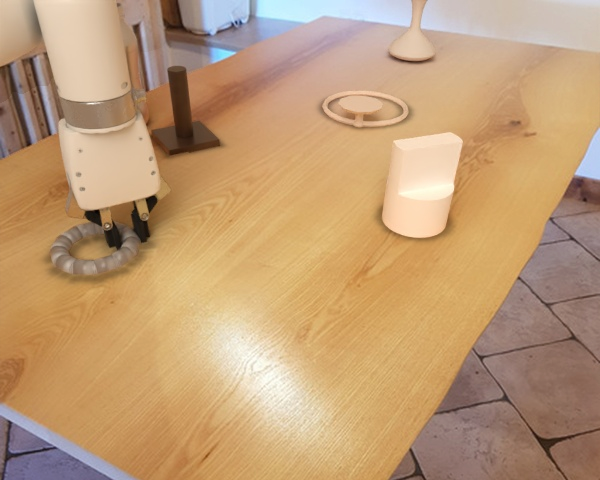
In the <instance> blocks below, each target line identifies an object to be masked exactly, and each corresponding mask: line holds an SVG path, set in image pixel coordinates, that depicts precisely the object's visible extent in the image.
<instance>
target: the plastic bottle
mask: <svg viewBox="0 0 600 480" xmlns="http://www.w3.org/2000/svg"><path fill="white" fill-rule="evenodd" d="M116 3H117V9H118V14H119V20H120V26H121V31H122V37H123V42H124V48H125V54H126V59H127V65H128V71H129V76H130V82H131V86H132V87H133V88H137V89H143V87H142V83H141V77H140V68H139V48H138V46H139V45H138V39H137V36H136V34H135V32H134V31H133V30H132V28H131V27H130V25H129V24H127V22H126V21H125V18H126V14H125V12H124V7H123V4H122V3H120V2H116ZM137 109H139V110H140V112H141V114H142V116H143V118H144V121H145V124H146V125H147V124H148V122H149V120H150V110H149V107H148V103H147V101H142V102H141V103H138V106H137Z"/></svg>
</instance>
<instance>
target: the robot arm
mask: <svg viewBox="0 0 600 480" xmlns="http://www.w3.org/2000/svg"><path fill="white" fill-rule="evenodd" d="M117 3H118V2H117V0H0V67H4V66H5V65H8V64H9V63H11V62H14V61H15V60H17V59H19V58H20V57H23V56H24V55H26V54H28V53H31V52H33V51H36V50H39V49H42V48H45V50H46V53H47V57H48V61H49V64H50V69H51V72H52V76H53V80H54V83H55V87H56V92H57V94H58V99H59V103H60V107H61V110H62V114H63V118H60V120H59V121H58V123H57V129H58V130H57V131H58V139H59V140H58V141H59V146H60V147H59V148H60V153H61V158H62V163H63V167H64V171H65V176H66V180H67V183H68V188H69V190H68V194H67V198H66V202H65V206H64V211H65V213H66V215H67V217H68V218H72V219H80V220H87V221H89V222H93V223H95V224H97V225H99V226H101V227H103V230H104V234H103V235H104V236H105V241H106V244H107V246H108V247H109V248H114V247H115V249H116V251H117V250H119V249H120V248H121V246H122V244H123V243H122V242H121V239H120V235H119V231H118V228H117V226H116V225H115V223H114V221H115V220H114V219H113V217H112V213H111V207H114V206H118V205H122V204H127V203H132V207H133V209H132V211H131V213H130V218H131V222H132V228H133V229H134V230H135V232H136V233H137V235H138V237H139V238H140V240H141V244H144V243H147V242H148V241H147V240H148V239H147V238H150V237H151V234H150V228H149V224H148V220H149V219H150V213H152V211H153V210H154V208H155V207H156V205H157V204H158V202H159V200H160V201H161V200H162V199H164V198H165V197H166V196H168V195H169V194H170V193H171V191H172V188H171V187H170V185H169V184H168V183H167V181H166V180H165V179H164V177H162V175H161V173H160V170H159V169H160V168H159V165H158V164H159V163H158V160H157V157H156V153H155V149H154V147H153V146H154V145H153V142H152V139H151V135H150V132H149V128H148V126H147V124H145V121H144V118H143V116H142V114H141V112H140V110H139V109H137V106H138V103H141V102H142V101H146V102H147V100H148V97H147V93H146V90H145V89H144V88H142V89H137V88H133V87H132V86H131V82H130V76H129V71H128V65H127V59H126V54H125V48H124V42H123V37H122V31H121V26H120V20H119V14H118V9H117Z"/></svg>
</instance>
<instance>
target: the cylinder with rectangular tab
mask: <svg viewBox="0 0 600 480" xmlns="http://www.w3.org/2000/svg"><path fill="white" fill-rule="evenodd" d="M463 143H464V141H463V139H462V138H461V137H460V136H459V135H457V134H456V133H453V132H451V131H449V132H443V133H435V134H429V135H422V136H414V137H408V138H402V139H394V140H392V146H391V153H390V159H389V160H390V161H389V169H388V175H387V178H386V184H385V190H384V197H383V206H382V214H381V220H382V221H381V222H383V224H384V226H385V227H387V228H388V229H389V230H390V231H392V232H394V233H395V234H398V235H402V236H403V237H410V238H420V239H424V238H431V237H434V236H436V235H439V234H441V233H442V232H443V231H444V230H445V229H446V226H447V222H448V218H449V214H450V210H451V204H452V200H453V196H454V192H455V178H456V174H457V170H458V165H459V161H460V157H461V153H462V149H463V148H462V147H463Z"/></svg>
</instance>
